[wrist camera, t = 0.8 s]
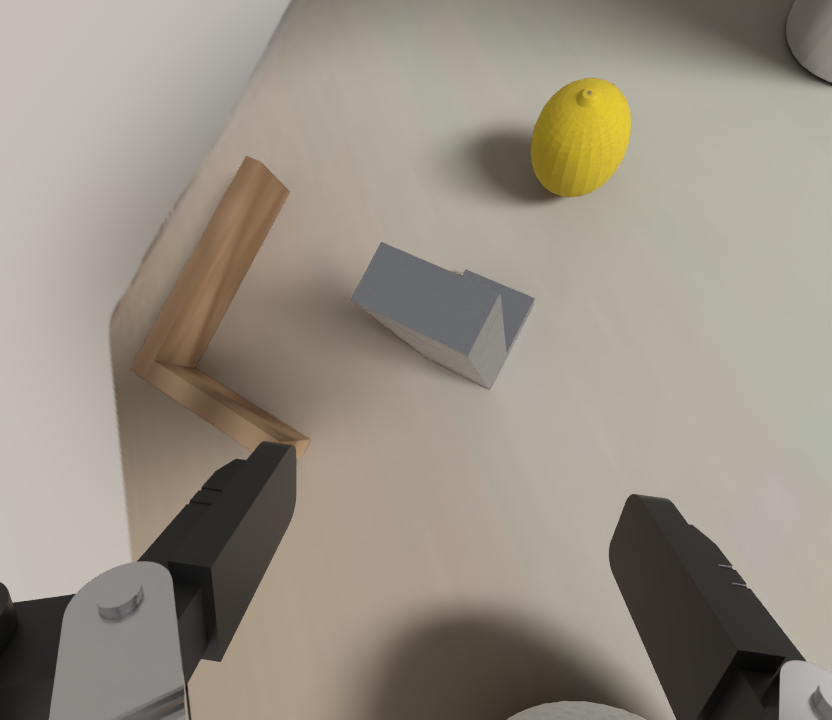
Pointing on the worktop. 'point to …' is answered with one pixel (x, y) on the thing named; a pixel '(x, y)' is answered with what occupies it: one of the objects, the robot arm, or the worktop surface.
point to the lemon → (580, 137)
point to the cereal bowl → (574, 712)
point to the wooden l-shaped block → (217, 312)
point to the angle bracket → (444, 312)
